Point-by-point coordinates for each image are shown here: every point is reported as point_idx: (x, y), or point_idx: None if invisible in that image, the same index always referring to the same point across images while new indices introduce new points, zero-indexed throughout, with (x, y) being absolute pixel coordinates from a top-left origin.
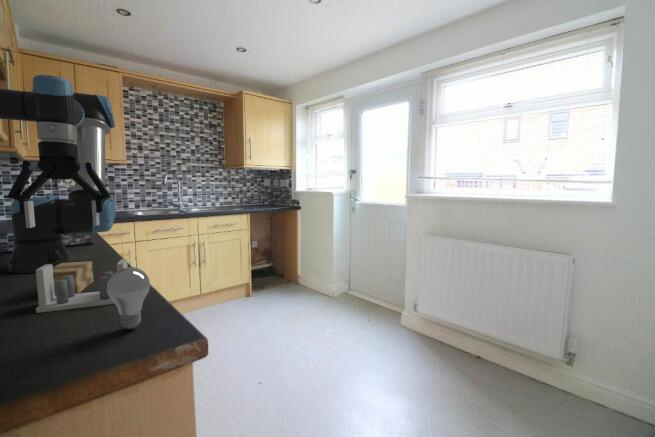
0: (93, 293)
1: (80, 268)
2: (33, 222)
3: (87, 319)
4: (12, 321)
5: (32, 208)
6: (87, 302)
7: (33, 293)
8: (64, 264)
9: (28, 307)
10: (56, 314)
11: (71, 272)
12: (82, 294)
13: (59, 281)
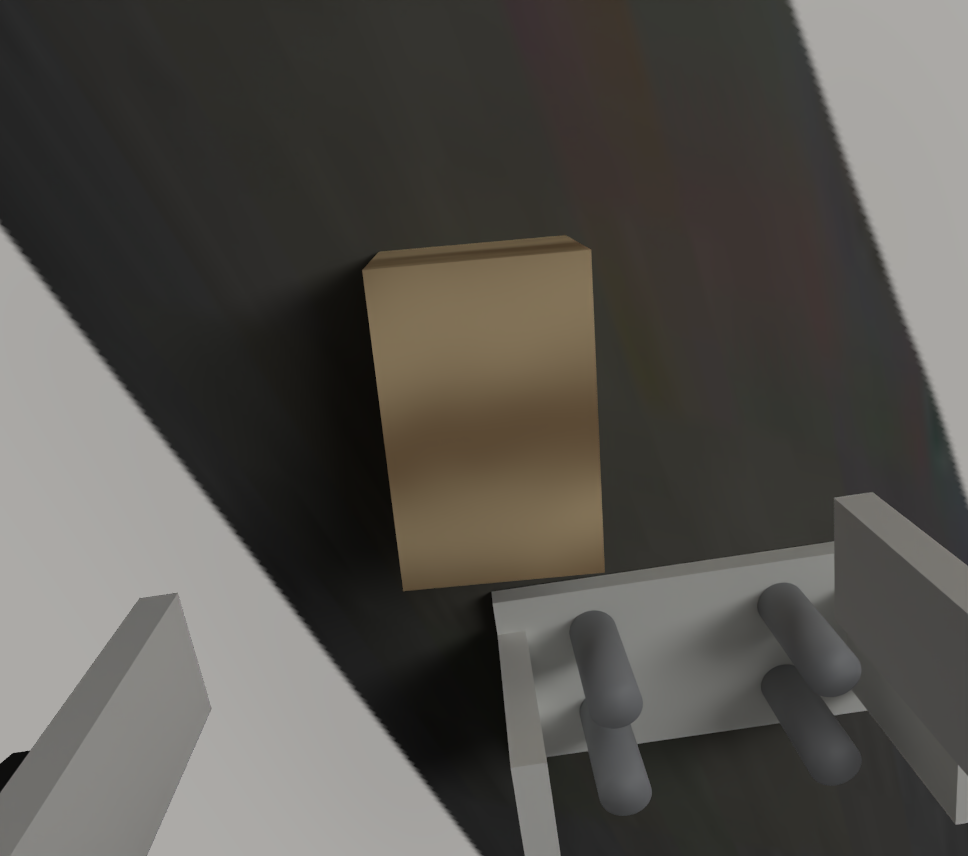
0: (700, 602)
1: (600, 496)
2: (170, 661)
3: (760, 844)
4: (472, 813)
5: (83, 791)
6: (719, 730)
7: (314, 446)
8: (417, 338)
9: (435, 670)
10: None
11: (575, 570)
12: (646, 606)
13: (621, 801)
